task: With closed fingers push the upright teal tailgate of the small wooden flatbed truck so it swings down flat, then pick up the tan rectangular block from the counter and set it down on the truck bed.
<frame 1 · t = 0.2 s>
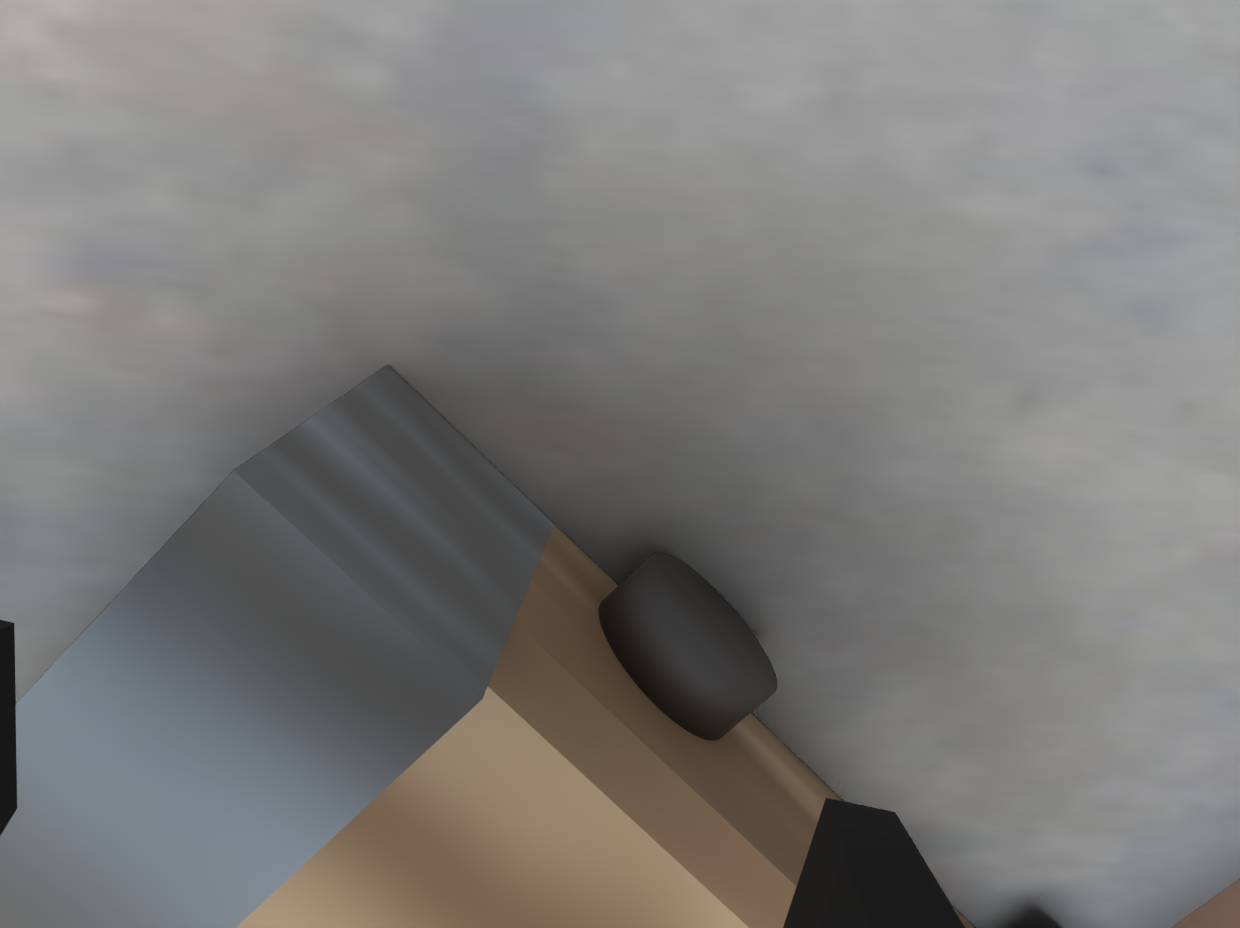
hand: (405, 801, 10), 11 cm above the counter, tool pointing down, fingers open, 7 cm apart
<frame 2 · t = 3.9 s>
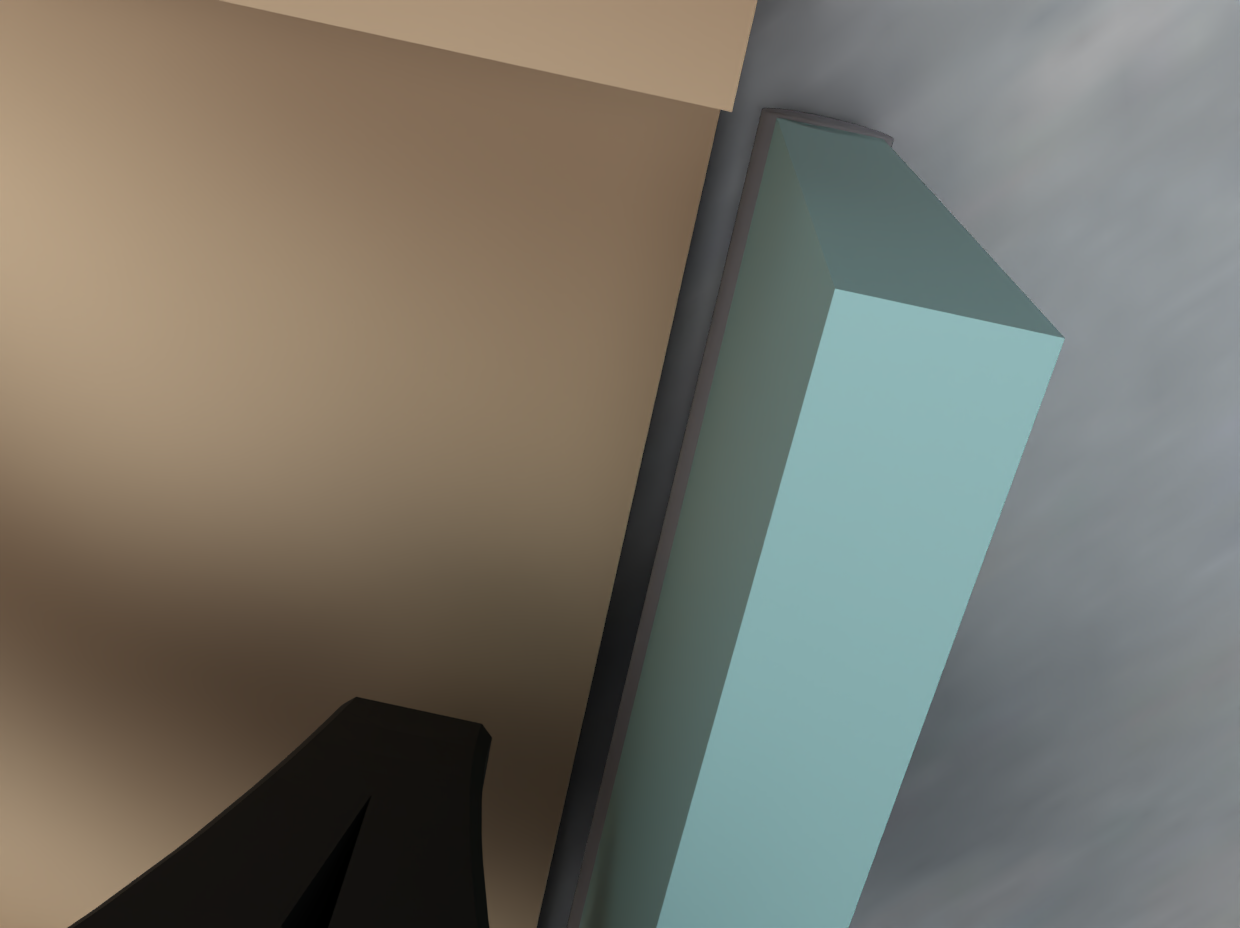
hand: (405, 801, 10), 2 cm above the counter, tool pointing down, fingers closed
tailgate: (652, 927, 9), point 3 cm above the counter, hinge at 0.4°, touching gripper
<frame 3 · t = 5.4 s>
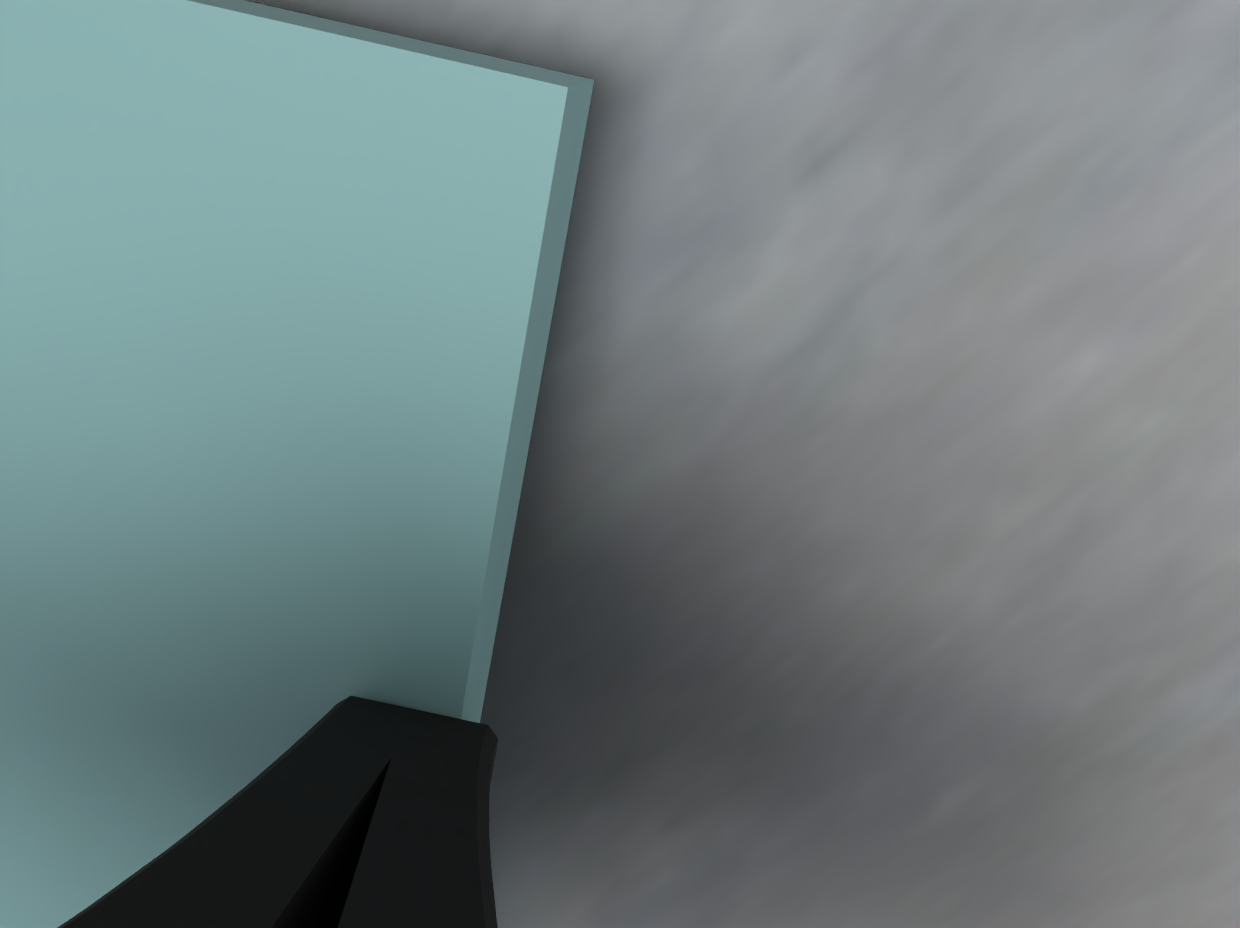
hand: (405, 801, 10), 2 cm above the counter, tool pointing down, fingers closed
tailgate: (174, 652, 11), point 1 cm above the counter, hinge at 83.3°
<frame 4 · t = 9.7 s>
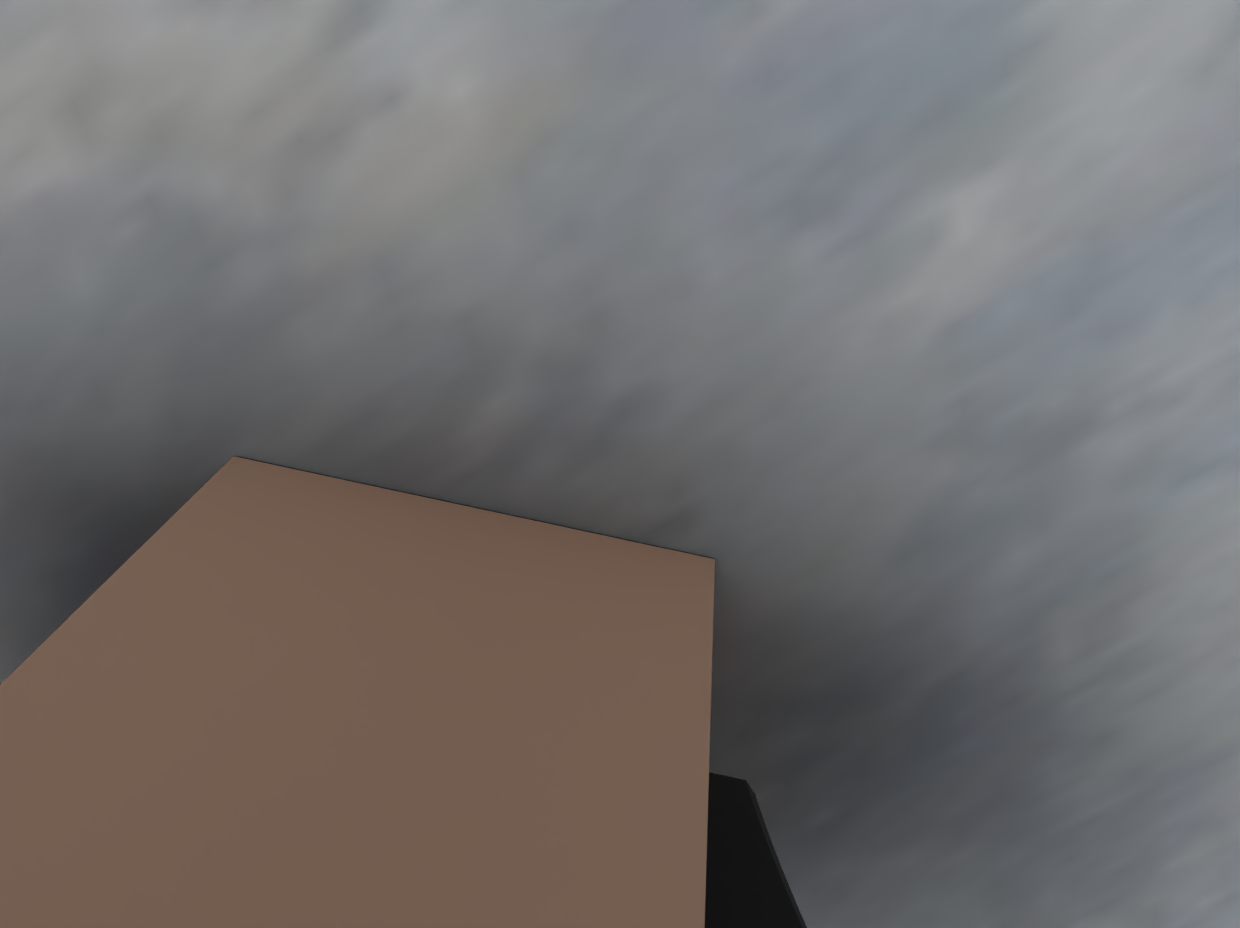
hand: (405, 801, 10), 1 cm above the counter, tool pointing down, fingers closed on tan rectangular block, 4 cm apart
tan rectangular block: (441, 708, 12), on the counter, touching gripper
when the fingers open (4 cm above the counter, at t = 12.7 s): tan rectangular block drops 1 cm, resting on flatbed.
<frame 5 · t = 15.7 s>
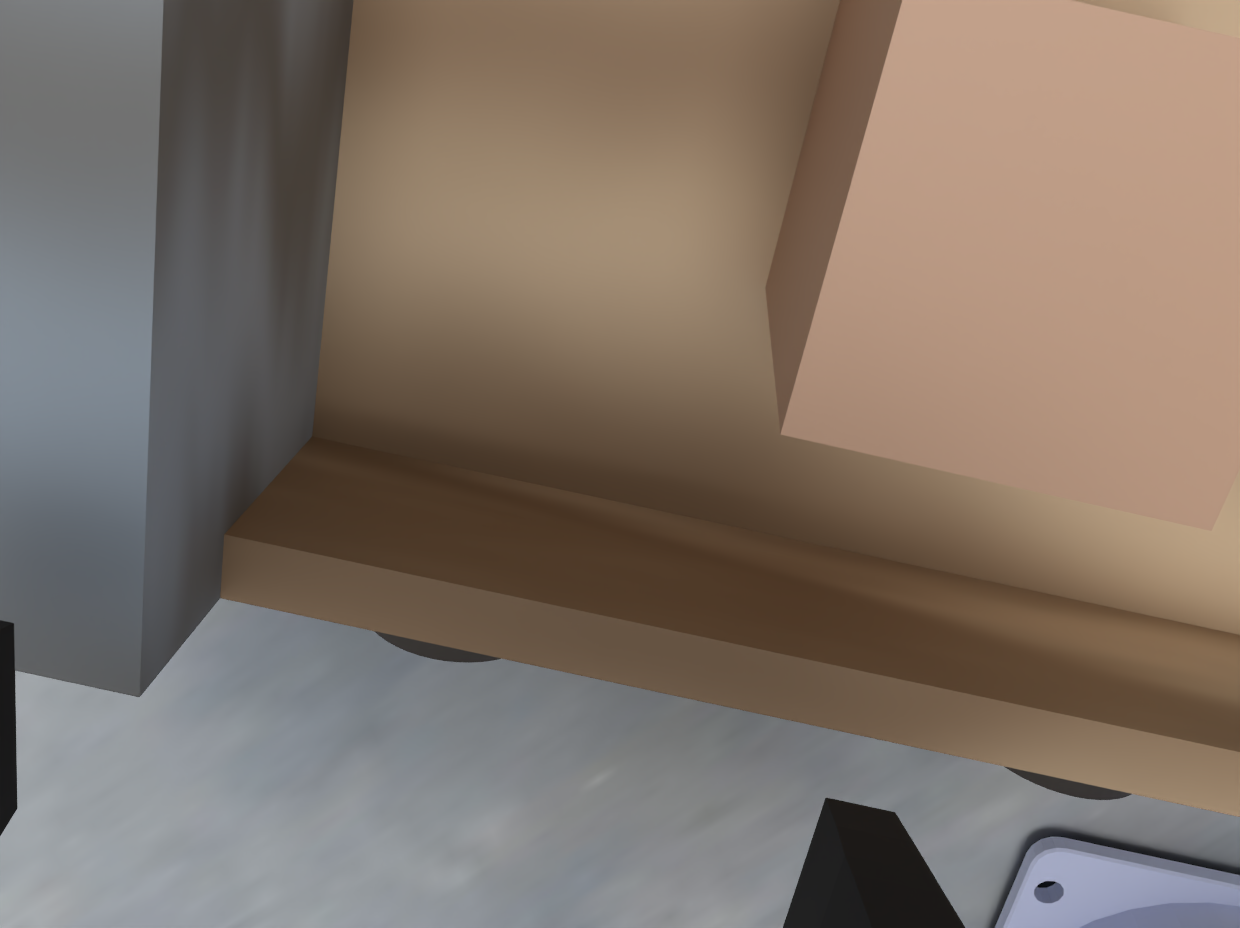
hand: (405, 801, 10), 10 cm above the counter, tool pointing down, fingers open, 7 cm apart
flatbed: (945, 172, 17), on the counter
tan rectangular block: (960, 170, 17), point 1 cm above the counter, touching flatbed
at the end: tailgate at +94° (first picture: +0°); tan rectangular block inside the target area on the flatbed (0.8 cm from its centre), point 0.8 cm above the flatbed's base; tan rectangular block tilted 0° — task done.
